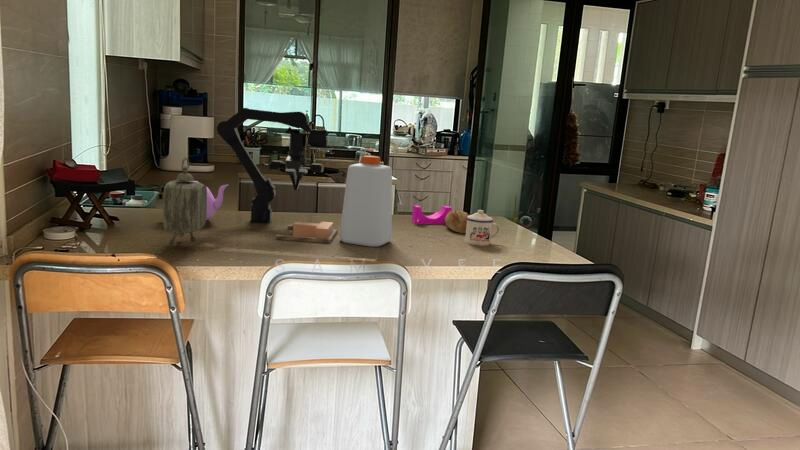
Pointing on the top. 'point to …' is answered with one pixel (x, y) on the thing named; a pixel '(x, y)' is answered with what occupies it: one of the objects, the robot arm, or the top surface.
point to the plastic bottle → (367, 204)
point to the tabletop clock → (184, 205)
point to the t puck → (312, 229)
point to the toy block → (432, 219)
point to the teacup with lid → (479, 229)
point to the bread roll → (457, 221)
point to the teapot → (213, 201)
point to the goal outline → (307, 239)
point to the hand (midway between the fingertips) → (295, 190)
